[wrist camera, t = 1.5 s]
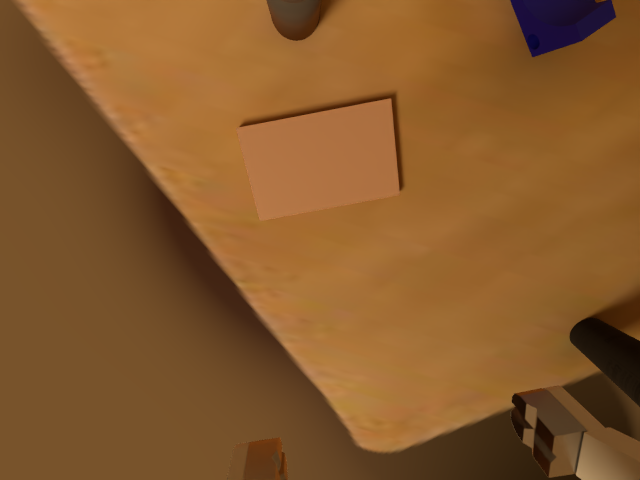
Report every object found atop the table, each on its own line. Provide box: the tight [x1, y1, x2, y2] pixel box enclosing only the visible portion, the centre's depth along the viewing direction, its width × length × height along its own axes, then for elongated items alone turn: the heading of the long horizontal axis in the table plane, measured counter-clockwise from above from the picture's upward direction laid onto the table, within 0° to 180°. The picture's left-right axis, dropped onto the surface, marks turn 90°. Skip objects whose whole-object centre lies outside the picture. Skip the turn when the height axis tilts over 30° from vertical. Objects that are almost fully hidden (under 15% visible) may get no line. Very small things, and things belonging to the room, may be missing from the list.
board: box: [236, 98, 400, 221], centre depth 33 cm, size 16×10×1 cm, turn 100°
